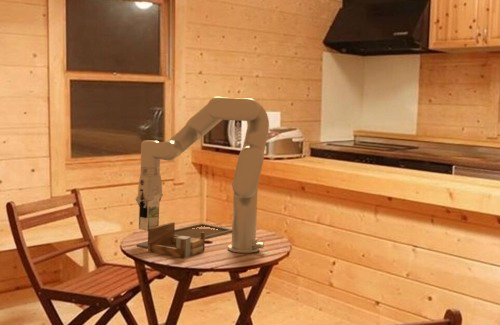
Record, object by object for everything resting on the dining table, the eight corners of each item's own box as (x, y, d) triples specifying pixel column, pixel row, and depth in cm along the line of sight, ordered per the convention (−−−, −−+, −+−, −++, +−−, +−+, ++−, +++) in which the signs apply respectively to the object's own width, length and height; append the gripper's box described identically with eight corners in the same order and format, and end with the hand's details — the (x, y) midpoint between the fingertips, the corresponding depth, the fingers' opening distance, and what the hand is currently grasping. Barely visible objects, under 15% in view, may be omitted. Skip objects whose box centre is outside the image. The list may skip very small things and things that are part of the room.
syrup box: (149, 227, 237) (150, 191, 235) (159, 229, 233) (159, 193, 232) (138, 229, 233) (139, 193, 231) (148, 231, 229) (148, 195, 227)
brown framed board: (160, 232, 253) (206, 222, 276) (160, 236, 253) (206, 225, 277) (192, 240, 241) (237, 228, 265) (192, 243, 241) (237, 232, 265)
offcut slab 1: (202, 245, 227) (202, 239, 227) (192, 249, 222) (193, 242, 222) (192, 243, 230) (192, 237, 230) (182, 246, 224) (182, 240, 224)
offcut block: (190, 254, 222) (190, 236, 221) (185, 257, 218) (185, 239, 218) (181, 253, 223) (181, 235, 223) (176, 255, 220) (176, 237, 219)
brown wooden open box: (205, 249, 230) (206, 227, 229) (182, 258, 216) (183, 234, 215) (171, 243, 238) (172, 222, 237) (147, 251, 224) (148, 228, 223)
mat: (161, 245, 235) (161, 243, 235) (150, 248, 229) (150, 247, 229) (147, 242, 238) (147, 241, 238) (136, 246, 232) (136, 244, 232)
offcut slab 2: (202, 252, 228) (203, 245, 227) (193, 255, 222) (193, 249, 222) (192, 250, 230) (192, 243, 230) (182, 253, 225) (182, 247, 224)
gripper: (143, 174, 221) (142, 220, 223) (170, 170, 236) (169, 213, 238) (128, 172, 225) (127, 218, 227) (156, 168, 240) (155, 211, 242)
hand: (149, 215), depth 232 cm, fingers closed on syrup box, 6 cm apart
